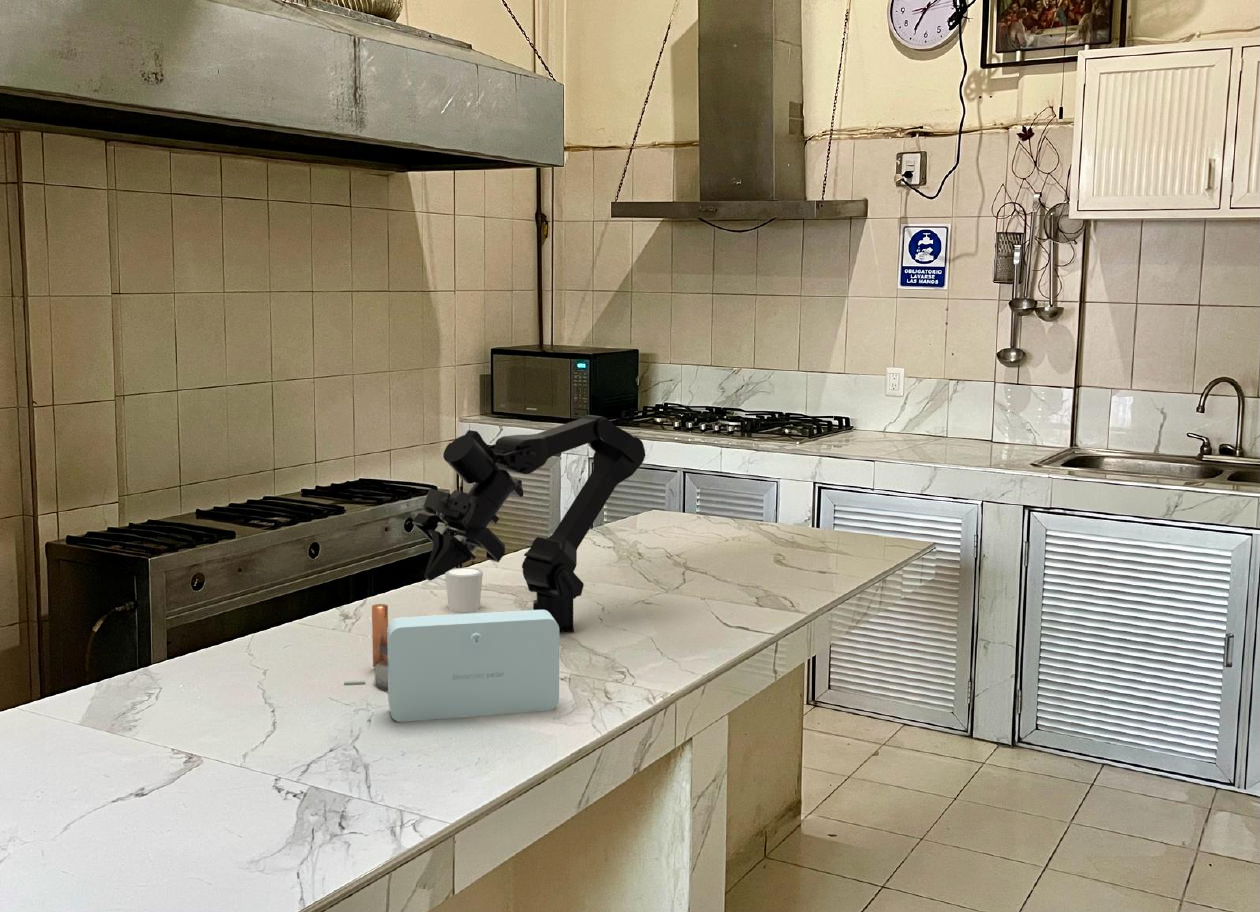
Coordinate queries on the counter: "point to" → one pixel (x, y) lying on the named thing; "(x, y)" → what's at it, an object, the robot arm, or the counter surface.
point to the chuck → (382, 675)
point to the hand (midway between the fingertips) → (427, 578)
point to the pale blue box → (472, 664)
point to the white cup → (464, 589)
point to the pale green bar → (354, 682)
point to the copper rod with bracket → (379, 632)
